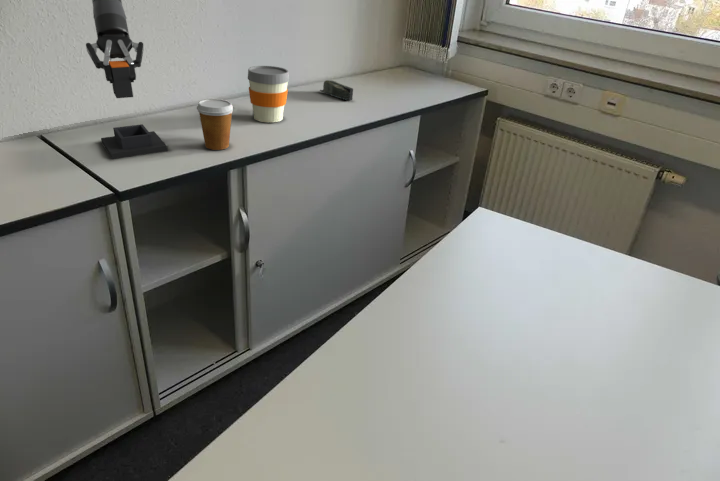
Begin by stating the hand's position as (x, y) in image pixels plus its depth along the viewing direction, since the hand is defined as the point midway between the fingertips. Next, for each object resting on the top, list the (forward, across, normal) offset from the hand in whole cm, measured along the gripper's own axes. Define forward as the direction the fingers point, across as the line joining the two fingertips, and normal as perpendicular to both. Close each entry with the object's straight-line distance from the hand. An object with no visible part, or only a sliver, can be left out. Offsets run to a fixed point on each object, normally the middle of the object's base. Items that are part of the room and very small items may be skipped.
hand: (121, 81), depth 136 cm
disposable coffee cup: (+16, -22, -9) cm, 28 cm away
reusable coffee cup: (+2, -42, -23) cm, 48 cm away
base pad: (+12, -1, -13) cm, 18 cm away
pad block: (+1, 0, -4) cm, 5 cm away
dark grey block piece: (-11, -73, -36) cm, 82 cm away
